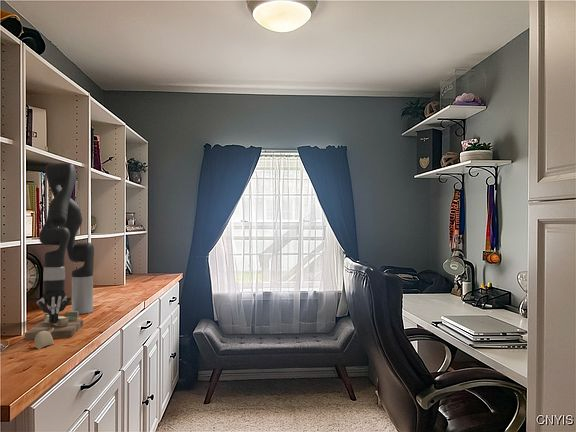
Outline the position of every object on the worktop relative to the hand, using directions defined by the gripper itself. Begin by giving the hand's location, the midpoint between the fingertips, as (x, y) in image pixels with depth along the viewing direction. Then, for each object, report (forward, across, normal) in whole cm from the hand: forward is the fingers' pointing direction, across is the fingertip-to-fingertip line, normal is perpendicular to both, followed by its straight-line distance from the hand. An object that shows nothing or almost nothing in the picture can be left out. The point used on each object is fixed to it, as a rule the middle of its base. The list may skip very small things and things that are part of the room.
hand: (53, 323), depth 175 cm
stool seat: (+4, -2, -3) cm, 5 cm away
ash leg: (+1, -3, -5) cm, 6 cm away
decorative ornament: (+5, +10, +13) cm, 17 cm away
